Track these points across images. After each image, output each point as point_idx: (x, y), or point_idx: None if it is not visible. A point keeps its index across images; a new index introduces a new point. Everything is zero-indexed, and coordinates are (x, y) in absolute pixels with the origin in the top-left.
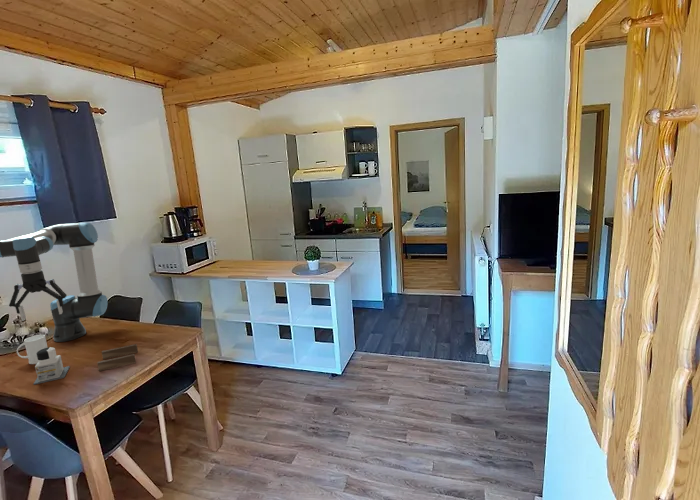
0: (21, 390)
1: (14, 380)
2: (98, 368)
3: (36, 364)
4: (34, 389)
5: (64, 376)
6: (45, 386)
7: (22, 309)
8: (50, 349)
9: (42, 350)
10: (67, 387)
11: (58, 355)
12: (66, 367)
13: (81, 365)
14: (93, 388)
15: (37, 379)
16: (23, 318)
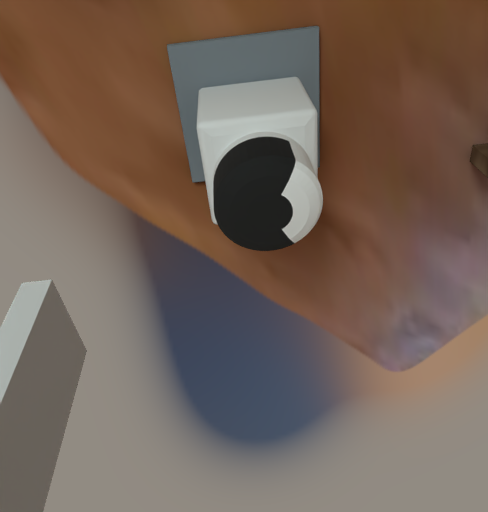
0: (160, 212)
1: (46, 78)
2: (477, 167)
3: (213, 207)
4: None
5: (318, 157)
6: None
7: (5, 501)
8: (304, 222)
9: (254, 223)
10: (351, 257)
11: (308, 123)
12: (304, 44)
13: (381, 32)
14: (443, 297)
15: (192, 144)
16: (77, 378)
